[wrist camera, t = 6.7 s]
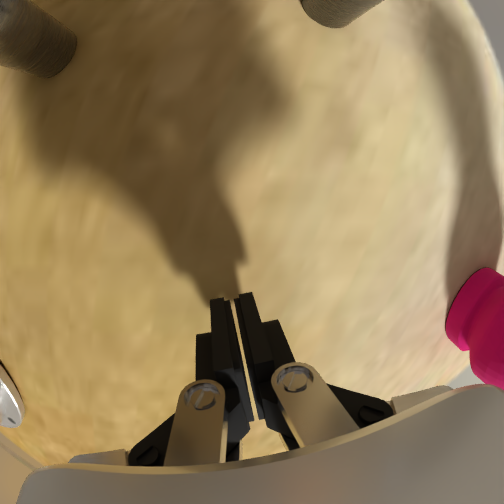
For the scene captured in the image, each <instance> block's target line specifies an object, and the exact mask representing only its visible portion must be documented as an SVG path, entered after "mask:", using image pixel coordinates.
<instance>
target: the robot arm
mask: <svg viewBox="0 0 504 504" xmlns="http://www.w3.org/2000/svg"><path fill="white" fill-rule="evenodd" d="M234 302H235V308H236V313H237V318H238V323H239V329H240V334H241V339H242V344H243V349H244V354H245V359H246V364H247V368H248V373H249V378H250V382H251V387H252V391H253V395H254V400H255V404H256V408H257V413H258V417H259V420H261V419H265V421H266V425H267V427H268V428H270V429H272V430H274V431H276V432H279V436H280V439H281V441H282V443H283V445H284V447H285V449H286V450H287V451H286V452H282V453H277V454H273V455H268V456H263V457H257V458H251V459H245V460H242V451H243V443H242V438H243V437H244V436H245V435H246V434H247V433H248V432H249V430H250V426H249V422H251V421H254V416H253V412H252V407H251V402H250V397H249V392H248V387H247V382H246V376H245V371H244V366H243V361H242V355H241V351H240V346H239V342H238V337H237V332H236V328H235V323H234V318H233V314H232V309H231V304H230V300H226V301H224V297H222V298H217V299H211V300H210V312H211V332H209V333H203V334H197V335H196V381H195V382H192V383H190V384H188V385H187V386H185V388H184V389H183V390H182V391H181V393H180V395H179V399H178V403H177V407H176V412H175V413H174V414H173V415H172V416H171V417H169V418H168V419H167V420H166V421H165V422H163V423H162V424H161V425H160V426H159V427H157V428H156V429H155V430H154V431H152V432H151V433H150V434H149V435H147V436H146V437H145V438H144V439H142V440H141V441H140V442H139V443H137V444H136V445H135V446H134V447H133V448H132V449H131V450H130V451H126V450H125V449H120V450H114V451H107V452H100V453H92V454H83V455H78V456H74V457H73V458H72V459H70V461H69V462H68V463H62V464H54V465H50V466H45V467H42V468H39V469H37V470H35V471H33V472H31V473H30V474H29V475H28V477H27V478H26V480H25V481H24V483H23V485H22V487H21V490H20V493H19V496H18V500H17V503H16V504H504V390H502V389H501V388H499V387H497V386H495V385H491V384H475V385H470V386H464V387H461V388H456V389H452V388H451V387H449V386H444V385H443V386H436V387H433V388H429V389H425V390H422V391H418V392H414V393H410V394H405V395H401V396H397V397H392V398H391V401H384V400H381V399H379V398H375V397H371V396H368V395H364V394H360V393H357V392H353V391H350V390H346V389H343V388H340V387H336V386H333V385H330V384H327V383H325V381H324V380H323V379H322V377H321V376H320V375H319V373H318V372H317V371H316V370H315V369H314V368H313V367H312V366H310V365H308V364H306V363H301V362H295V359H294V357H293V354H292V352H291V349H290V347H289V345H288V342H287V340H286V337H285V335H284V332H283V330H282V327H281V325H280V323H279V321H278V319H277V320H273V321H268V322H263V323H262V322H261V319H260V316H259V313H258V309H257V306H256V303H255V300H254V297H253V293H252V292H249V293H244V294H239V298H237V299H234ZM24 414H25V409H24V405H23V402H22V399H21V397H20V395H19V393H18V391H17V389H16V387H15V385H14V384H13V382H12V380H11V379H10V377H9V376H8V374H7V373H6V371H5V370H4V368H3V367H2V366H1V365H0V425H1V426H4V427H9V428H14V427H18V426H19V425H20V424H21V422H22V420H23V418H24Z"/></svg>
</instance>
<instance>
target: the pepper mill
mask: <svg viewBox="0 0 504 504" xmlns="http://www.w3.org/2000/svg"><path fill="white" fill-rule="evenodd" d="M446 334H447V337H448V338H449V339H450V340H451V341H452V342H453V343H454V344H455V345H456V346H457V347H458V348H459V349H460V350H462V351H467V350H470V364H471V368H472V371H473V373H474V374H475V375H476V376H477V377H478V378H480V379H481V380H482V381H483V382H484V383H485V384H491V385H495V386H497V387H499V388H501V389H502V390H504V276H502V275H501V274H499V273H498V272H496V271H494V270H493V269H491V268H483V269H480V270H479V271H477V272H476V273H474V274H473V275H472V276H471V277H470V278H469V279H468V280H467V281H466V283H465V284H464V285H463V287H462V288H461V290H460V291H459V293H458V295H457V296H456V298H455V300H454V302H453V304H452V306H451V309H450V311H449V314H448V317H447V321H446Z"/></svg>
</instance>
